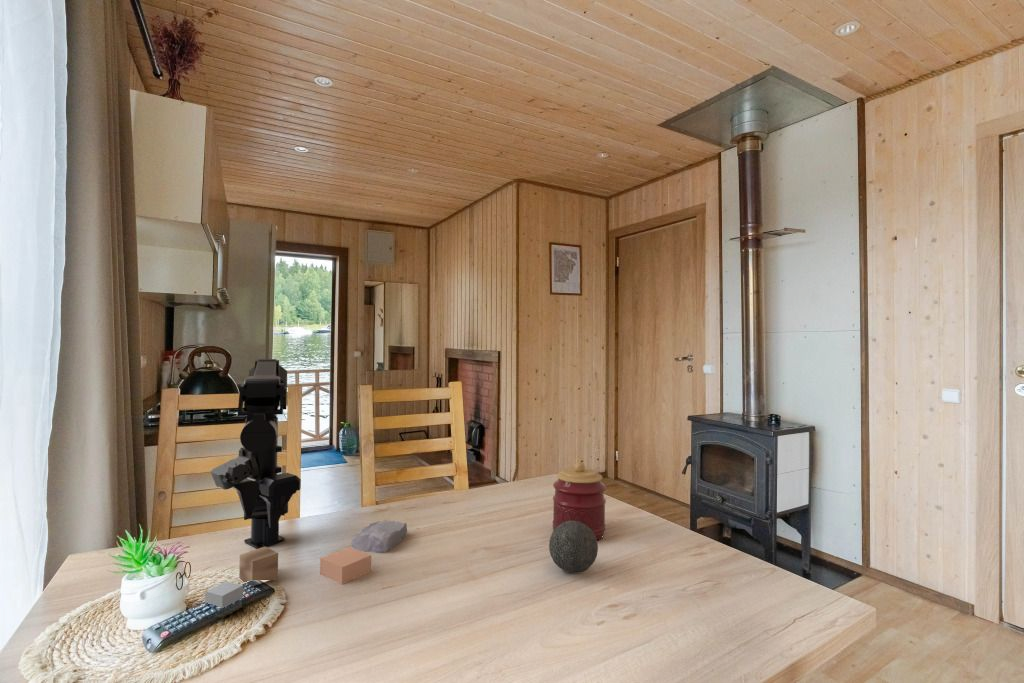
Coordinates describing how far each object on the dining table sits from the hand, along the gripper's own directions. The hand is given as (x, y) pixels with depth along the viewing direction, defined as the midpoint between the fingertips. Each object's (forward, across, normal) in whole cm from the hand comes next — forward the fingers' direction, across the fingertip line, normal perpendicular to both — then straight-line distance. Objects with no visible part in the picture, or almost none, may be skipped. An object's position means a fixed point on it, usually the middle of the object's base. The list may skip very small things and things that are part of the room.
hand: (260, 521), depth 98 cm
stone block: (+12, +4, +26) cm, 29 cm away
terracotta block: (+11, +11, +12) cm, 20 cm away
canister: (+11, +38, +60) cm, 72 cm away
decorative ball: (+11, +47, +41) cm, 63 cm away
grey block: (+11, +7, -10) cm, 16 cm away
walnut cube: (+11, 0, 0) cm, 11 cm away
